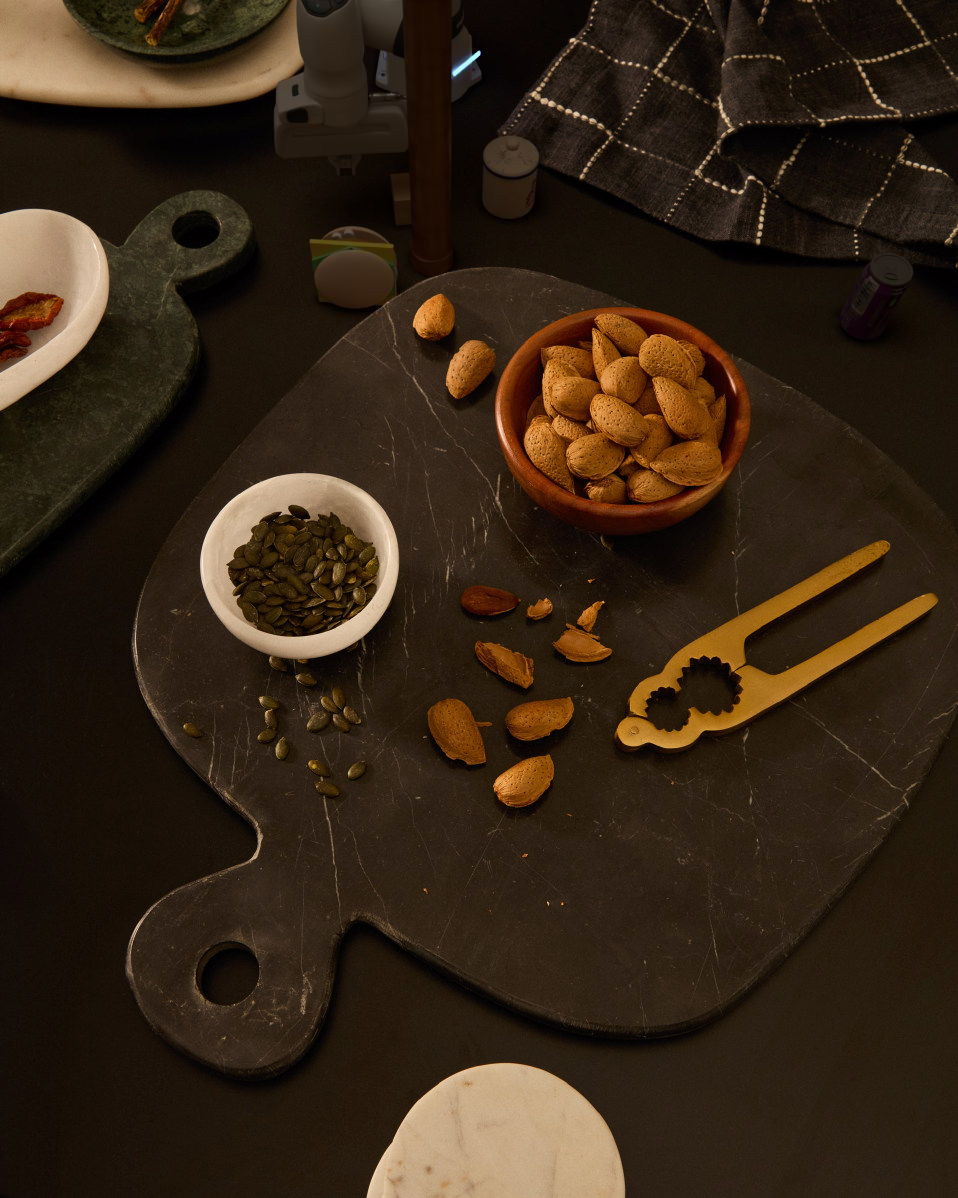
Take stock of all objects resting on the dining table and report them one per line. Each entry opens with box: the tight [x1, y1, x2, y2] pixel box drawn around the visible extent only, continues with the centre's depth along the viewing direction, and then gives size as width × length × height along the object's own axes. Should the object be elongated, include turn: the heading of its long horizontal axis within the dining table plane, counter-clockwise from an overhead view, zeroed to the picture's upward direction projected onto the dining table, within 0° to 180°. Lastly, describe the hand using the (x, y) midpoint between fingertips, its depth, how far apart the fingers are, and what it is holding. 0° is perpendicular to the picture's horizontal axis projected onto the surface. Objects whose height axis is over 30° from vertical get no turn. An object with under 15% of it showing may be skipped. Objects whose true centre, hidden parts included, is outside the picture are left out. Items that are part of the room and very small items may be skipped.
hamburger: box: [309, 225, 398, 310], centre depth 146 cm, size 12×8×12 cm
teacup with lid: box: [481, 135, 541, 220], centre depth 156 cm, size 12×9×12 cm
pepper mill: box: [402, 0, 454, 277], centre depth 132 cm, size 7×7×50 cm
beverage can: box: [838, 252, 914, 341], centre depth 147 cm, size 7×7×12 cm
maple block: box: [389, 172, 412, 226], centre depth 157 cm, size 6×6×5 cm
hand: (346, 172), depth 152 cm, fingers closed
